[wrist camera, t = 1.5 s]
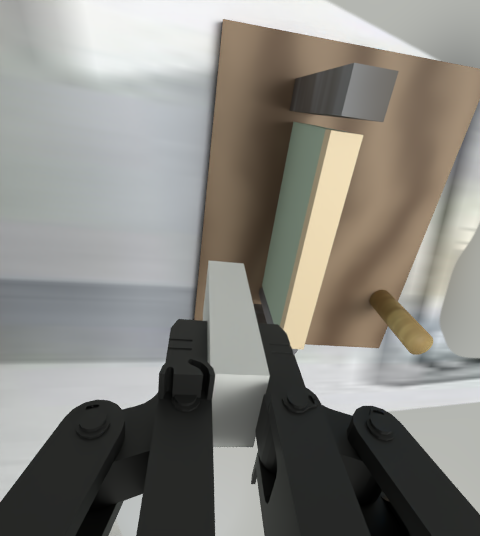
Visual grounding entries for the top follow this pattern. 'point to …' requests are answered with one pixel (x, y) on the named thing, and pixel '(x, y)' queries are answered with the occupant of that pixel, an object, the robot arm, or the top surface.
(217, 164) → the gate frame
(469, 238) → the top surface
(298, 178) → the bar
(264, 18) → the top surface
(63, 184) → the top surface
